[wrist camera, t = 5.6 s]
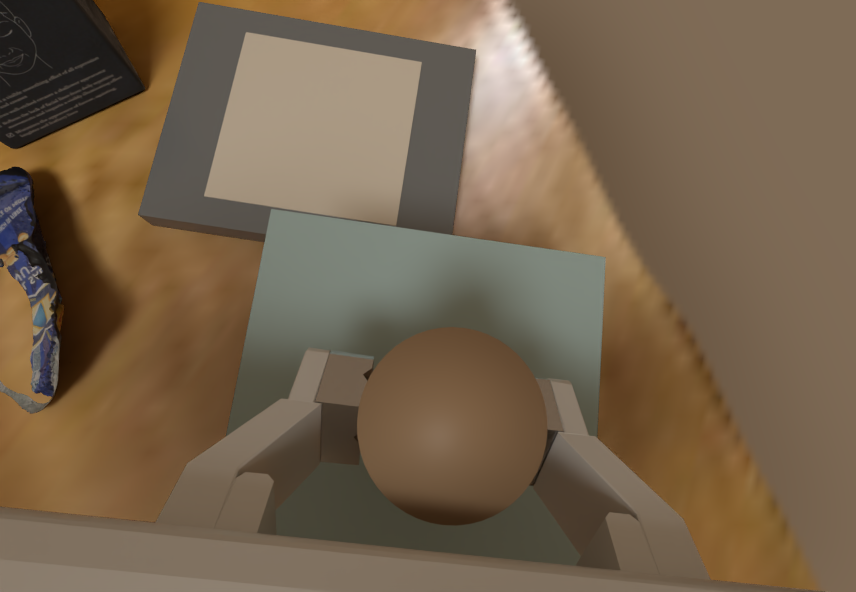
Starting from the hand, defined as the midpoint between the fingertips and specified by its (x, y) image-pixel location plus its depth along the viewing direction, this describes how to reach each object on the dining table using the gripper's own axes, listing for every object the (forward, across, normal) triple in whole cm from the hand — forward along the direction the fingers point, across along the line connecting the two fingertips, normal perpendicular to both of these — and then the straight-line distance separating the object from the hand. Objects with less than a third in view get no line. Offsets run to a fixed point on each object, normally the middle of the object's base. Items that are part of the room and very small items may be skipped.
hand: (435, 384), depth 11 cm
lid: (+3, 0, -4) cm, 4 cm away
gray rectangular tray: (+19, -7, -1) cm, 21 cm away
